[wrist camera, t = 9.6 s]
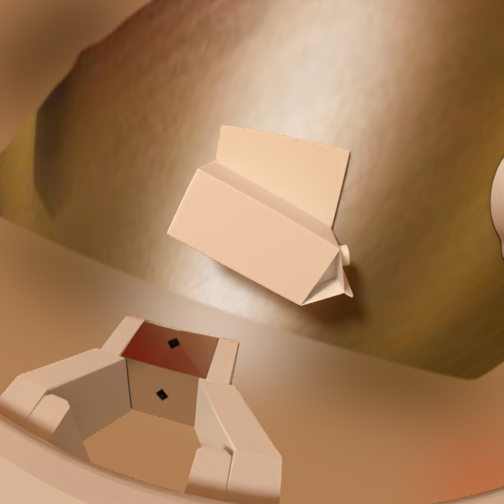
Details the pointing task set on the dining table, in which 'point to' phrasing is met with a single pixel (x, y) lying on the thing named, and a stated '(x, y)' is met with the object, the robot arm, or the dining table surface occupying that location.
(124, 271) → the dining table surface
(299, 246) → the milk carton
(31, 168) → the dining table surface
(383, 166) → the dining table surface
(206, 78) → the dining table surface
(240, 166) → the mat
